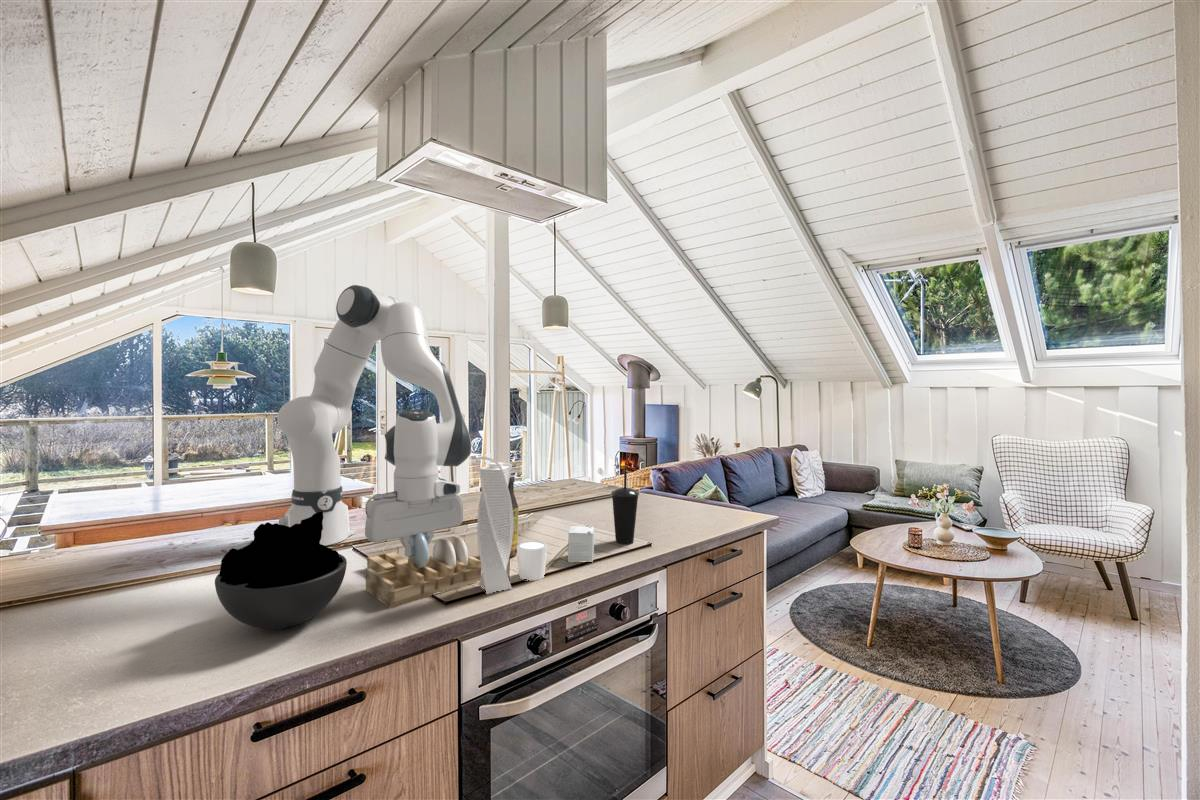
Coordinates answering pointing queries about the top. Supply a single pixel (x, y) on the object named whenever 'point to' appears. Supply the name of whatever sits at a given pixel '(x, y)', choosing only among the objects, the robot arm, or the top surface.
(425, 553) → the blue plate
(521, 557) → the white cylinder
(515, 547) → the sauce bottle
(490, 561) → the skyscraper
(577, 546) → the skincare box
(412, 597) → the dish rack
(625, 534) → the drinking cup
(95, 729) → the top surface
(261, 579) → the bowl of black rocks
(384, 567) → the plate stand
